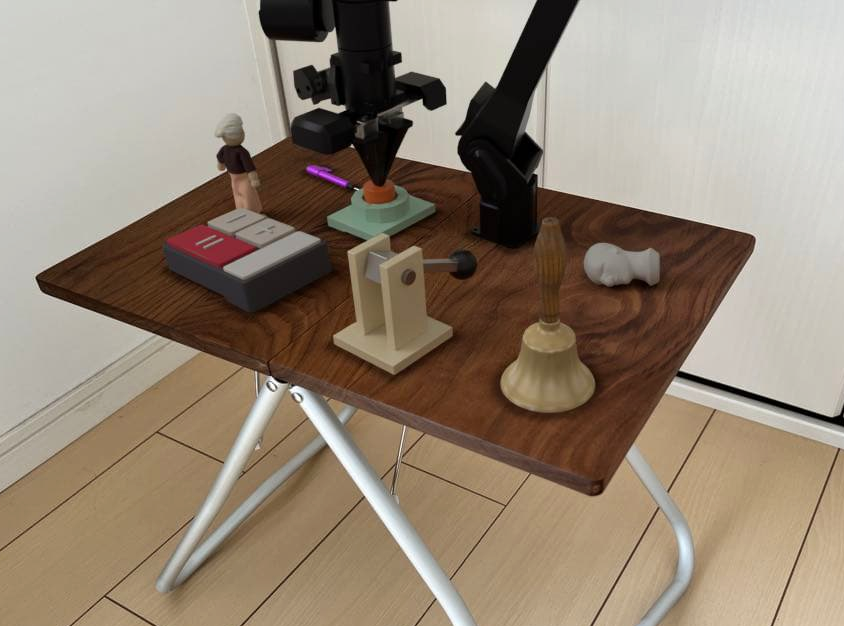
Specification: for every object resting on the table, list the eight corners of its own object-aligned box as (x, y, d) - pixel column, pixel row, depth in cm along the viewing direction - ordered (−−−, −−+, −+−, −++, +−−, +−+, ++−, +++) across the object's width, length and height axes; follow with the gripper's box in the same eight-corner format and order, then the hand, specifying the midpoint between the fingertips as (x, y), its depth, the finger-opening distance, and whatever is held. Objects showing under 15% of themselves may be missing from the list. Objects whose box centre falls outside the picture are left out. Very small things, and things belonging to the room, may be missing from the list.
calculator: (241, 202, 99) (327, 234, 91) (249, 237, 102) (333, 271, 93) (157, 238, 93) (241, 276, 85) (168, 274, 96) (251, 314, 87)
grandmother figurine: (284, 219, 104) (265, 114, 96) (262, 232, 101) (241, 125, 94) (237, 206, 107) (215, 103, 99) (214, 218, 105) (190, 114, 97)
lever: (456, 274, 89) (463, 245, 88) (479, 283, 87) (486, 254, 86) (360, 279, 78) (366, 246, 77) (384, 289, 77) (390, 256, 75)
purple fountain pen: (304, 173, 115) (387, 209, 106) (304, 164, 114) (388, 199, 105) (320, 171, 116) (403, 206, 108) (320, 162, 116) (404, 196, 107)
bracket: (393, 309, 87) (384, 220, 81) (453, 337, 83) (448, 245, 77) (334, 345, 83) (320, 253, 77) (394, 377, 78) (384, 282, 72)
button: (380, 189, 103) (378, 175, 102) (402, 197, 101) (400, 183, 100) (358, 200, 101) (356, 186, 100) (380, 208, 99) (378, 194, 98)
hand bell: (569, 426, 72) (578, 255, 62) (483, 396, 76) (478, 229, 66) (610, 374, 78) (625, 209, 68) (528, 348, 81) (531, 187, 71)
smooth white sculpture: (576, 292, 91) (594, 258, 93) (651, 308, 88) (667, 272, 90) (572, 263, 87) (591, 228, 90) (650, 278, 84) (667, 242, 86)
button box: (387, 196, 108) (385, 173, 106) (435, 213, 104) (434, 189, 102) (328, 225, 102) (324, 202, 100) (376, 245, 98) (373, 221, 96)
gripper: (374, 11, 100) (386, 143, 110) (244, 53, 89) (271, 195, 99) (446, 26, 94) (452, 164, 104) (317, 73, 84) (337, 222, 93)
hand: (379, 184), depth 100 cm, fingers closed
